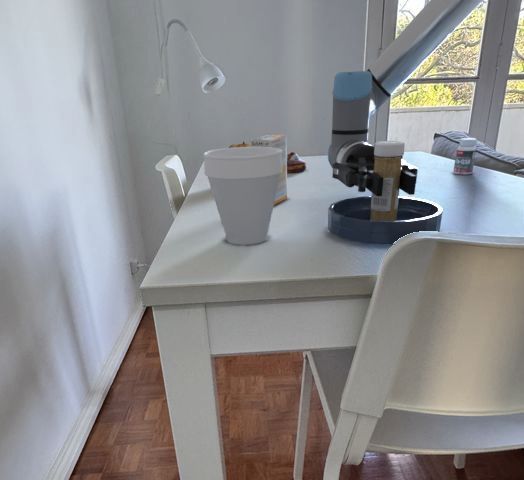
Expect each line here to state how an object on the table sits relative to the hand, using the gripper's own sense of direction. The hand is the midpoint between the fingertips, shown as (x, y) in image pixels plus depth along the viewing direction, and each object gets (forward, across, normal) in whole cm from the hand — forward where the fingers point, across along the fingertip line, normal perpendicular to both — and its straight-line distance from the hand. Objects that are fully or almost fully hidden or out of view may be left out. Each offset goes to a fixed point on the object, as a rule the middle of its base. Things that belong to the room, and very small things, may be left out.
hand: (396, 186), depth 71 cm
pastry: (-72, +7, -9) cm, 73 cm away
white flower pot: (-5, +23, -9) cm, 25 cm away
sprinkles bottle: (-5, 0, -8) cm, 10 cm away
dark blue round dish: (-5, 0, -8) cm, 10 cm away
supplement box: (-32, +17, -9) cm, 38 cm away
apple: (-57, +22, -9) cm, 62 cm away
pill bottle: (-55, -36, -8) cm, 67 cm away
